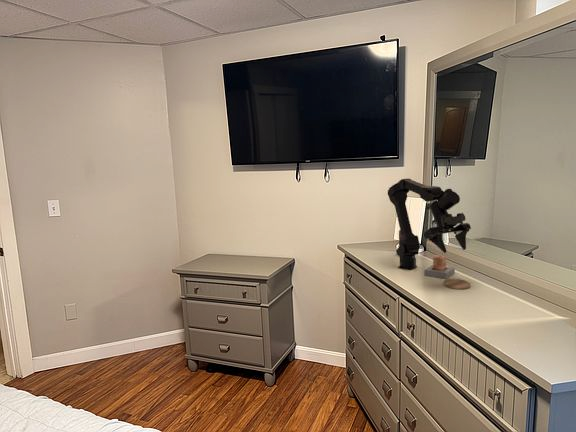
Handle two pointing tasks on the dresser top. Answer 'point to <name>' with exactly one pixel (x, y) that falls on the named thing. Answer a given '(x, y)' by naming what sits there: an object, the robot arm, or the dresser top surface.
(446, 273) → the collar
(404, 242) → the robot arm
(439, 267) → the block
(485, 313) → the dresser top surface
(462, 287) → the pad
